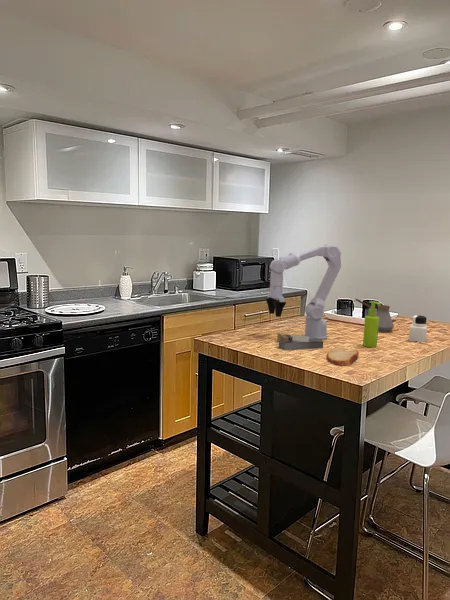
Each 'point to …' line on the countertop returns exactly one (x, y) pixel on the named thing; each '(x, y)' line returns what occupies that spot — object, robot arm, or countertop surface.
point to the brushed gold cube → (281, 335)
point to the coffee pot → (382, 317)
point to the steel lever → (298, 338)
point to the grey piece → (299, 343)
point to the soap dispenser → (371, 326)
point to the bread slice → (342, 356)
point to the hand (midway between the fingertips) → (274, 315)
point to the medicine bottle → (418, 329)
